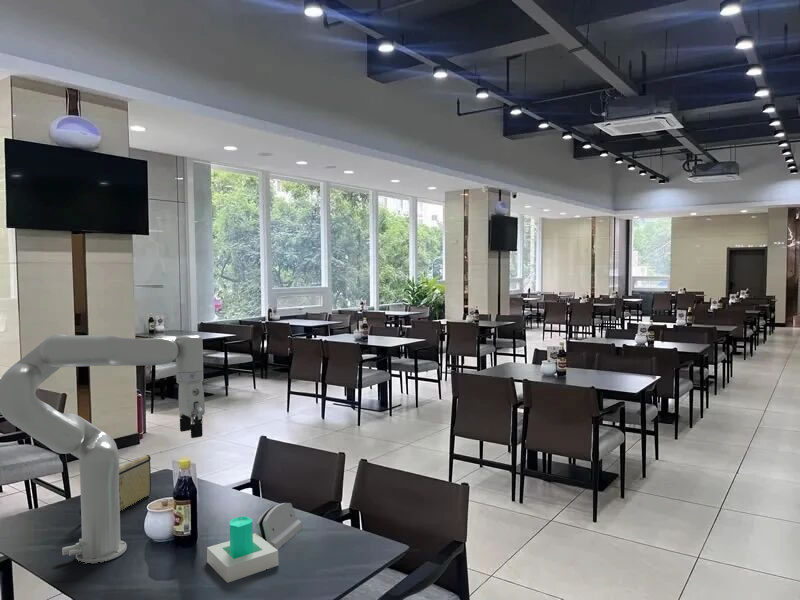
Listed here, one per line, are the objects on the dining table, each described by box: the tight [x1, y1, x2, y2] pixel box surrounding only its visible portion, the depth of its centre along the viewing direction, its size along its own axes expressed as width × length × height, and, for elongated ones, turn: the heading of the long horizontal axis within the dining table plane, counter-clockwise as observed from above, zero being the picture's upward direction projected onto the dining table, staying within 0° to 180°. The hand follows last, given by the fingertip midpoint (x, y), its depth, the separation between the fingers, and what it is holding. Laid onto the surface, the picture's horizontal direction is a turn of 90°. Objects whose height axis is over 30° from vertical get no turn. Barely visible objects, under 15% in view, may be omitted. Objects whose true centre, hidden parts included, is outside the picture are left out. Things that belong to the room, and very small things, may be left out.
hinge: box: [255, 502, 304, 551], centre depth 170 cm, size 17×5×10 cm, turn 162°
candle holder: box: [206, 532, 279, 584], centre depth 153 cm, size 14×14×4 cm
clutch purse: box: [79, 454, 152, 517], centre depth 191 cm, size 30×7×15 cm, turn 167°
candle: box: [229, 515, 254, 559], centre depth 153 cm, size 6×6×12 cm
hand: (191, 433), depth 171 cm, fingers open, 9 cm apart
